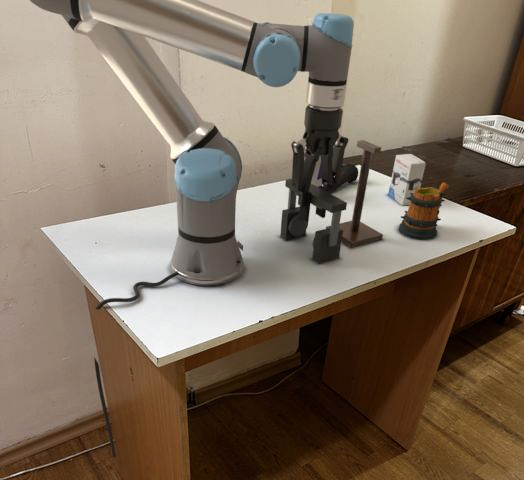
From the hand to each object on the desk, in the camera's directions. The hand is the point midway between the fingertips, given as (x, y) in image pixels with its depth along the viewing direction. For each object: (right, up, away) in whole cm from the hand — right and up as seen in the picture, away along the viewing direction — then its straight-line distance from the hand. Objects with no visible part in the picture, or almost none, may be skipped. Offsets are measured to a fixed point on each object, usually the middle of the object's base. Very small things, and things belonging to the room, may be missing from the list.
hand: (312, 217), depth 116 cm
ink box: (+29, +13, +32) cm, 45 cm away
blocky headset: (0, -6, +5) cm, 7 cm away
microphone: (+11, +18, +37) cm, 43 cm away
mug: (+30, 0, +15) cm, 33 cm away
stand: (+11, -2, +11) cm, 16 cm away
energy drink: (+3, +14, +30) cm, 33 cm away
